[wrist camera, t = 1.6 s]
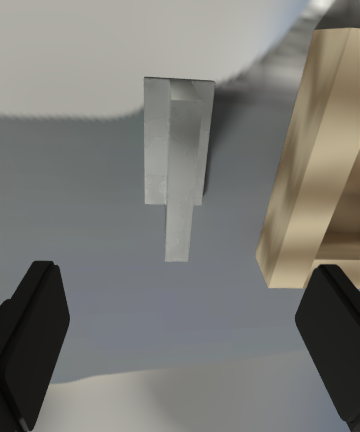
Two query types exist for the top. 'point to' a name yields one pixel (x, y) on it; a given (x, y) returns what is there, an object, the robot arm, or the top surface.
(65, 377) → the top surface
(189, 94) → the t bracket
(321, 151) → the well block
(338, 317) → the robot arm
